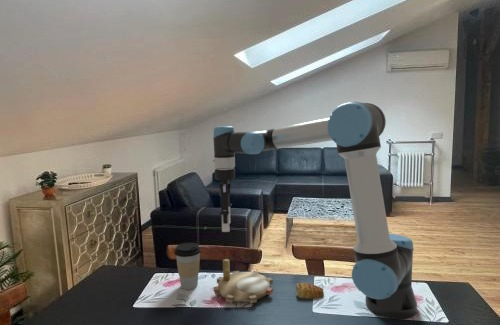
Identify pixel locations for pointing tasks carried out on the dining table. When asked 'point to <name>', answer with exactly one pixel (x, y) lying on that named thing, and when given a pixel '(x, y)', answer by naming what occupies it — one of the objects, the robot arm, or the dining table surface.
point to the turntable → (242, 285)
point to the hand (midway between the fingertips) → (226, 227)
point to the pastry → (308, 291)
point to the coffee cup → (188, 264)
